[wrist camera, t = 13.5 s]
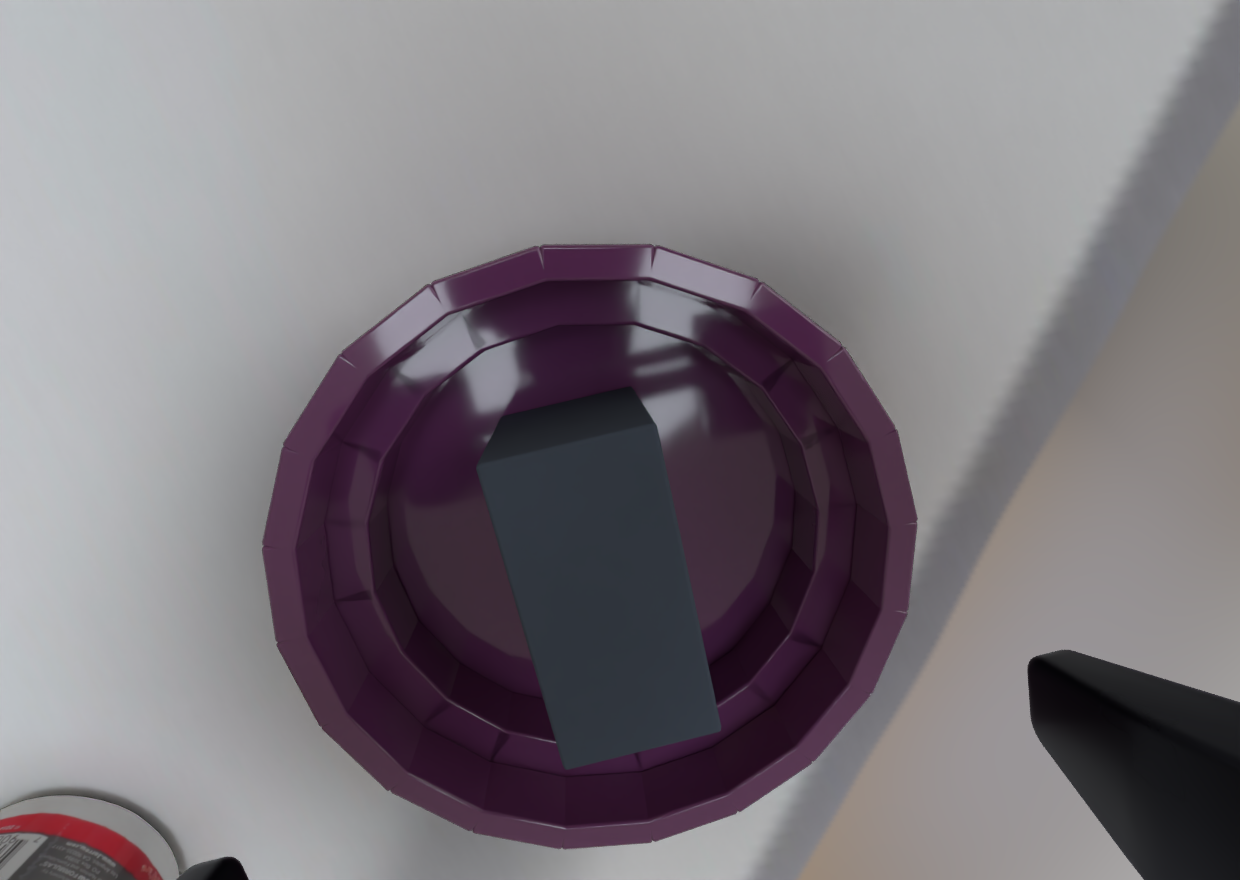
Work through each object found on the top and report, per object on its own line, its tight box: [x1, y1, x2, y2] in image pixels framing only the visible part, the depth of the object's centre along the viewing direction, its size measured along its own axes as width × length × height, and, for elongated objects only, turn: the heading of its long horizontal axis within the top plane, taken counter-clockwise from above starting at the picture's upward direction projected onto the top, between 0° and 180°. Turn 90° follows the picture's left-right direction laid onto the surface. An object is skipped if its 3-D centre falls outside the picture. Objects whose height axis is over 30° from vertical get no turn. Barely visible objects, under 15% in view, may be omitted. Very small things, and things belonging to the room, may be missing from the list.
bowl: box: [262, 244, 917, 849], centre depth 14 cm, size 12×12×4 cm
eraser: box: [476, 386, 721, 770], centre depth 13 cm, size 6×3×4 cm, turn 13°
